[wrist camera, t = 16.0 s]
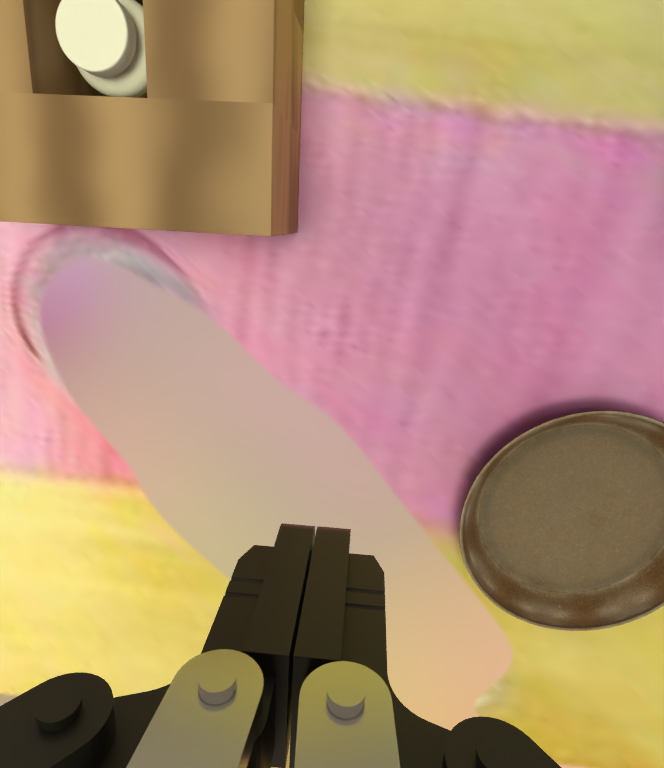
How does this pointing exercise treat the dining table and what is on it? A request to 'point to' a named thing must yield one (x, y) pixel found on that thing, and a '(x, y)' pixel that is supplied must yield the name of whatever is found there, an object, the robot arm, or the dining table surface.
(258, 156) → the walnut block
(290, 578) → the robot arm
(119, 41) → the supplement bottle
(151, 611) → the dining table surface
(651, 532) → the plant saucer
